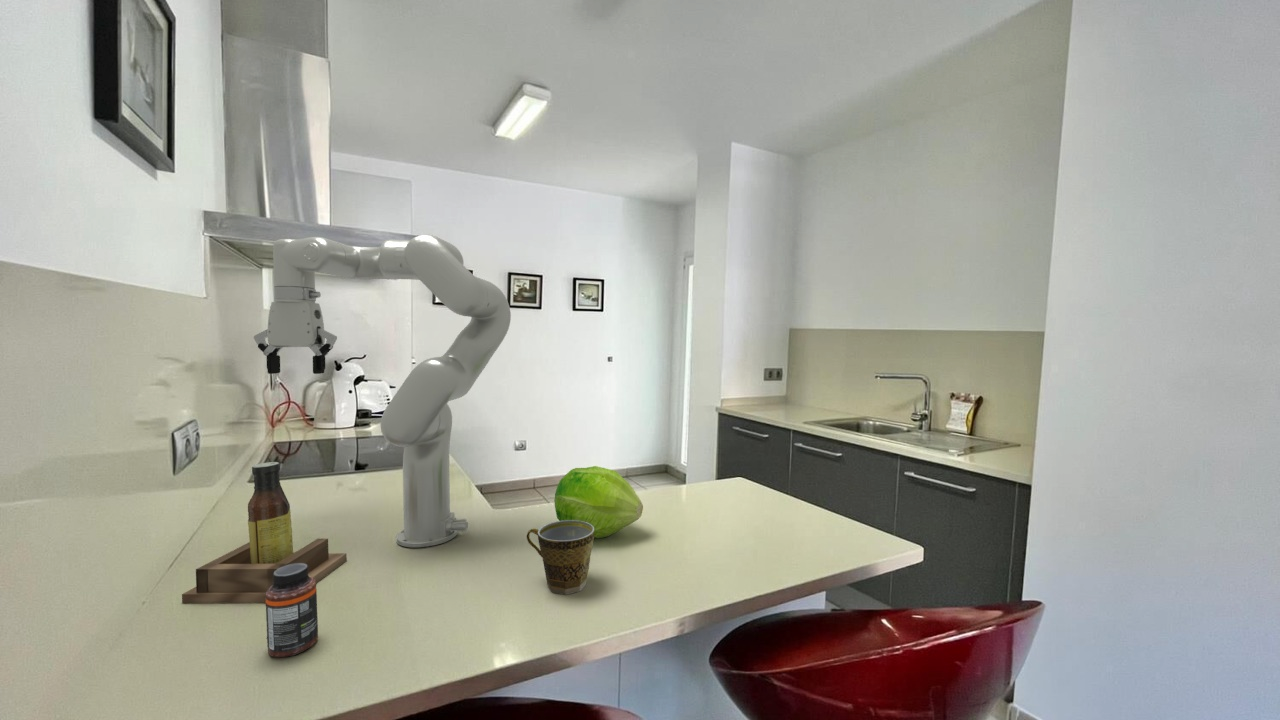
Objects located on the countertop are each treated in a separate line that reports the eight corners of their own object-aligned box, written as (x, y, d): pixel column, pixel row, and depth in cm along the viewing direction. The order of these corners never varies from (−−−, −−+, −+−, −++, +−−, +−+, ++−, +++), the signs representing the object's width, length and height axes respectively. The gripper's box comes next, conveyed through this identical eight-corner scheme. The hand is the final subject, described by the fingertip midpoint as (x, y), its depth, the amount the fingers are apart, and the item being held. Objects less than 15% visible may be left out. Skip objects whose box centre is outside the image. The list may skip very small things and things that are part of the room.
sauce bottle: (301, 564, 93) (298, 460, 93) (274, 580, 87) (271, 468, 87) (269, 563, 94) (266, 459, 93) (240, 579, 88) (236, 467, 87)
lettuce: (625, 563, 102) (629, 494, 99) (538, 542, 108) (540, 477, 105) (648, 525, 118) (652, 465, 115) (571, 509, 123) (573, 452, 121)
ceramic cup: (603, 577, 91) (603, 523, 91) (579, 604, 82) (579, 544, 81) (541, 567, 95) (541, 515, 95) (512, 591, 86) (511, 534, 86)
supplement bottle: (284, 635, 73) (282, 560, 73) (326, 633, 74) (324, 558, 73) (256, 661, 67) (254, 579, 67) (303, 658, 68) (300, 577, 67)
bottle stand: (346, 560, 99) (346, 533, 98) (289, 602, 83) (289, 570, 82) (256, 561, 99) (255, 533, 98) (182, 603, 83) (181, 570, 82)
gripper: (344, 298, 114) (345, 372, 115) (266, 297, 113) (268, 372, 114) (325, 295, 107) (326, 374, 107) (241, 294, 106) (243, 374, 106)
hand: (296, 373), depth 110 cm, fingers open, 9 cm apart
